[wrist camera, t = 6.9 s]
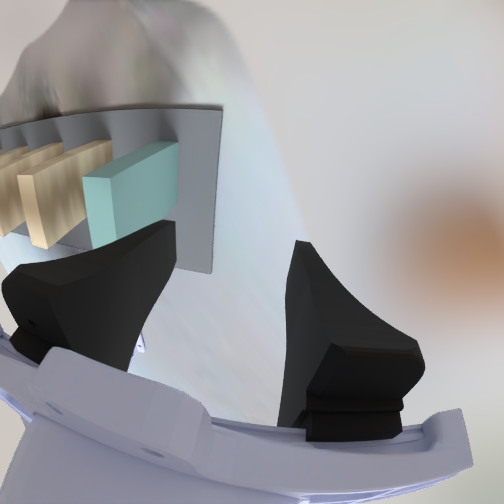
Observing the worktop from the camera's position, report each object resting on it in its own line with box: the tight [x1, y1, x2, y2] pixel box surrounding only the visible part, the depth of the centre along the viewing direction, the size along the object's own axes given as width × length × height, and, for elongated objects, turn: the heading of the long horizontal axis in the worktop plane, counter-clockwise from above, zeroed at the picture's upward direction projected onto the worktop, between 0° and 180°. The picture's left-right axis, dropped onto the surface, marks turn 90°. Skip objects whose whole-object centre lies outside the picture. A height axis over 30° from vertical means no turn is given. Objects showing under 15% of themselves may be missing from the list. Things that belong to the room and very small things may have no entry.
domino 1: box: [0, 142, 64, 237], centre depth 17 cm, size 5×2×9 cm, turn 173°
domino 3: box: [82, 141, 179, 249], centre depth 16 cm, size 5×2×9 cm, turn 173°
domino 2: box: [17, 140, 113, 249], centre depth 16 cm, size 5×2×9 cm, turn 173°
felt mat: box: [0, 108, 223, 274], centre depth 22 cm, size 14×31×1 cm, turn 83°
